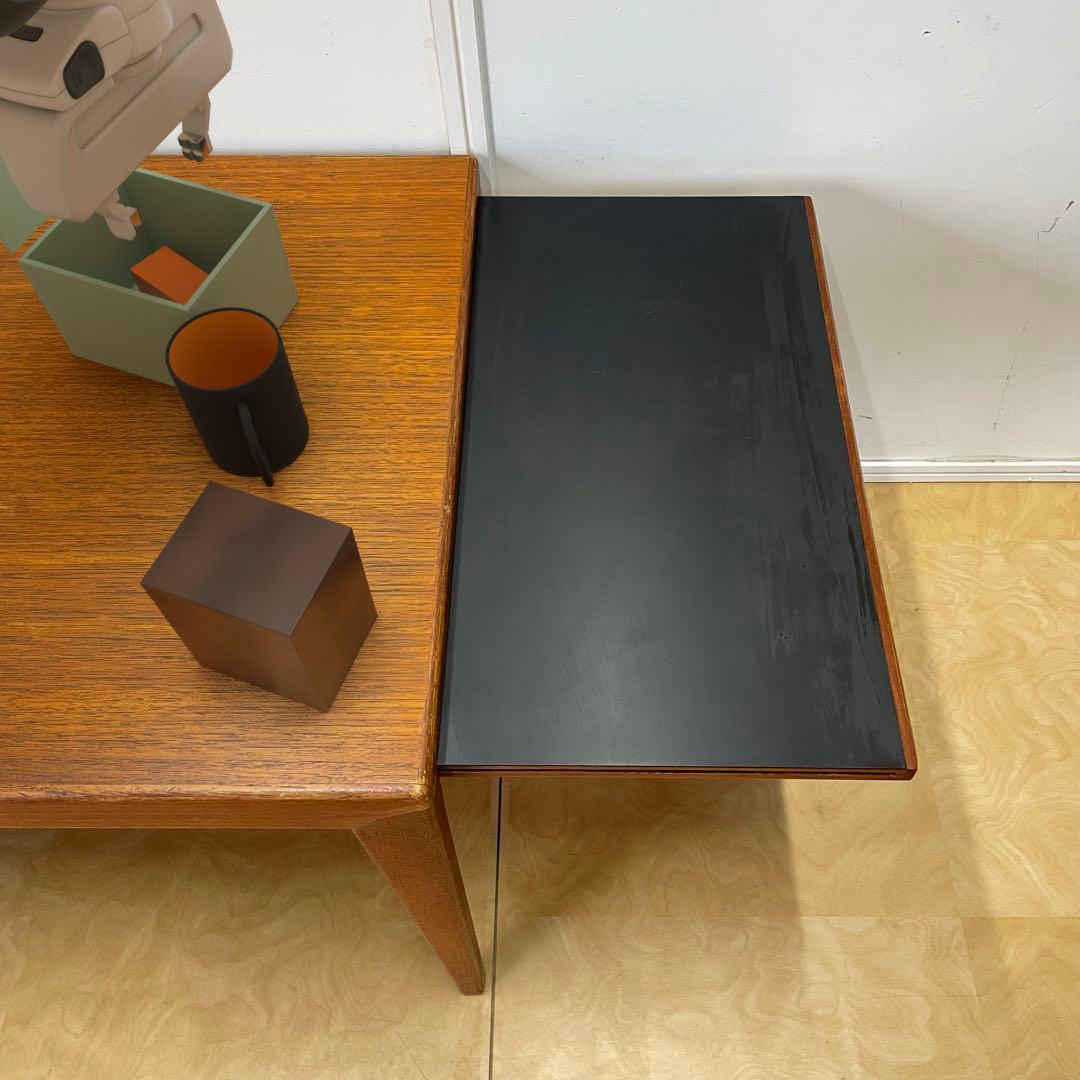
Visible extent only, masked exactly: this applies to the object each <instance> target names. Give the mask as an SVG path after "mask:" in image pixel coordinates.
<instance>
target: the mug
mask: <svg viewBox="0 0 1080 1080" xmlns="http://www.w3.org/2000/svg"><path fill="white" fill-rule="evenodd" d="M165 360H166V365H167V368H168V370H169V372H170V375H171V377H172V379H173V381H174V383H175V385H176V387H177V388H176V387H175V388H176V390H177V392H178V393H179V394H178V395H180V398H181V399H182V402H183V404H184V406H185V409H186V410H187V412H188V414H189V416H190V418H191V421H192V423H193V425H194V427H195V430H196V431H197V433H198V435H199V437H200V439H201V441H202V444H203V445H204V448H205V450H206V451H207V455H208V456H209V458H210V459H211V460H212V462H213V463H214V464H215V465H216V466H217V467H218V468H220V469H222V470H223V471H225V473H226V472H227V473H229V474H232V475H234V476H239V477H249V478H254V477H261V479H262V482H263V484H264V486H266V488H272V487H274V485H275V477H274V475H273V473H277V472H279V471H281V470H283V469H285V468H286V467H288V466H289V465H290V464H292V463H293V462H294V461H295V460H296V459H297V458H298V457H299V456H300V455H301V453H302V452H303V451H304V449H305V447H306V446H307V443H308V441H309V440H308V439H309V436H310V427H309V421H308V418H307V416H306V412H305V409H304V405H303V403H302V399H301V396H300V392H299V389H298V386H297V383H296V380H295V376H294V374H293V370H292V367H291V364H290V360H289V357H288V355H287V352H286V347H285V344H284V342H283V338H282V336H281V333H280V331H279V329H277V327H276V326H275V324H274V323H273V322H272V321H271V320H270V319H269V318H267V317H266V316H264V315H263V314H261V313H259V312H256V311H253V310H250V309H245V308H237V307H227V308H219V309H213V310H210V311H207V312H203V313H201V314H199V315H197V316H195V317H193V318H191V319H190V320H188V321H186V322H185V323H184V324H183V325H181V326H180V327H179V328H178V329H177V330H176V331H175V333H174V334H173V335H172V337H171V338H170V340H169V342H168V345H167V348H166V353H165Z"/></svg>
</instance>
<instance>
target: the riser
mask: <svg viewBox="0 0 1080 1080" xmlns="http://www.w3.org/2000/svg"><path fill="white" fill-rule="evenodd" d="M139 584H140V585H141V587H142V588H143V590H144V591H145V592H146V594H147V595H148V597H149V598H150V599H151V601H152V602H153V603H154V604H155V606H156V607H157V609H158V610H159V612H160V613H161V615H162V616H163V617H164V618H165V619H166V621H167V622H168V623H169V625H170V626H171V628H172V629H173V631H174V632H175V633H176V634H177V636H178V638H180V641H182V643H183V644H184V646H185V648H187V650H188V651H189V653H190V654H191V655H192V657H193V658H194V659H195V660H196V662H197V663H198V665H199V666H201V667H203V668H206V669H209V670H212V671H214V672H217V673H220V674H223V675H225V676H227V677H229V678H233V679H236V680H238V681H241V682H243V683H246V684H249V685H252V686H255V687H257V688H260V689H262V690H265V691H268V692H271V693H273V694H276V695H279V696H281V697H284V698H287V699H289V700H292V701H295V702H298V703H300V704H302V705H306V706H309V707H311V708H313V709H317V710H319V711H322V712H324V713H329V710H330V708H331V706H332V704H333V703H334V701H335V699H336V697H337V695H338V693H339V691H340V689H341V687H342V685H343V683H344V681H345V679H346V678H347V676H348V674H349V671H350V670H351V667H352V666H353V664H354V662H355V661H356V658H357V656H358V654H359V653H360V650H361V648H362V646H363V644H365V641H366V639H367V637H368V635H369V633H370V631H371V629H372V627H373V626H374V623H375V622H376V619H377V618H378V612H377V608H376V605H375V601H374V599H373V595H372V592H371V587H370V584H369V581H368V577H367V575H366V571H365V568H364V565H363V561H362V558H361V554H360V550H359V547H358V543H357V541H356V537H355V534H354V531H353V528H352V527H351V526H349V525H346V524H343V523H340V522H337V521H333V520H331V519H329V518H325V517H322V516H319V515H316V514H313V513H309V512H307V511H304V510H301V509H298V508H294V507H291V506H289V505H286V504H283V503H280V502H277V501H273V500H271V499H267V498H264V497H262V496H258V495H255V494H252V493H249V492H246V491H244V490H242V489H241V490H240V489H237V488H235V487H232V486H228V485H226V484H222V483H219V482H217V481H213V480H209V481H208V483H207V484H206V485H205V487H204V488H203V490H202V491H201V493H200V494H199V496H198V497H197V499H196V500H195V501H194V503H193V505H192V506H191V507H190V509H189V510H188V511H187V513H186V515H185V516H184V517H183V519H182V521H181V522H180V524H179V525H178V526H177V528H176V529H175V531H174V532H173V534H172V535H171V537H170V538H169V540H168V541H167V543H165V545H164V547H163V548H162V550H161V551H160V553H159V554H158V555H157V557H156V558H155V560H154V562H153V563H152V564H151V566H149V568H148V570H147V572H146V573H145V574H144V576H143V577H142V579H141V580H140V583H139Z"/></svg>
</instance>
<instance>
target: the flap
mask: <svg viewBox="0 0 1080 1080" xmlns="http://www.w3.org/2000/svg"><path fill="white" fill-rule="evenodd" d="M50 217H51V216H49V215H46V214H43V213H41V212H39V211H37V210H35V209H33V208H32V207H31V206H29V205H28V204H27V202H26V201H25V200H24V198H23V197H22V195H21V193H20V192H19V190H18V188H17V186H16V184H15V182H14V181H13V179H12V177H11V175H10V173H9V171H8V169H7V167H6V165H5V163H4V160H3V158H2V156H1V154H0V242H1V243H2V244H3V245H4V246H5V248H6V249H7V250H8V251H9V252H10V253H11V254H15V253H16V252H17V251H18V249H20V248H21V247H22V246H23V245H24V244H25V243H26V241H27V240H28V239H29V238H30V237H32V236H33V235H34V234H35V232H36V231H37V230H38V229H39V228H40V227H41V226H42V225H43V224H44V223H45V222H46V221H48V220H49V218H50Z"/></svg>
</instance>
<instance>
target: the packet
mask: <svg viewBox="0 0 1080 1080" xmlns="http://www.w3.org/2000/svg"><path fill="white" fill-rule="evenodd" d="M130 272H131V274H132V276H133V278H134V280H135V282H136V285H137V287H138V289H139V291H140V292H141V293H145V294H148V295H152V296H155V297H158V298H162V299H165V300H168V301H172V302H175V303H178V304H182V305H185V304H186V303H187V302H188V301H189V299H190V298H191V297H192V296H193V294H194V293H195V292H196V291H197V289H198V288H199V287H200V286H201V284H202V283H203V282H204V281H205V280H206V278H207V277H208V276H209V274H207V273H206V272H204V271H203V270H201V269H200V268H198V267H197V266H195V265H194V264H192V263H191V262H189V261H188V260H186V259H185V258H183V257H182V256H180V255H179V254H177V253H176V252H174V251H173V250H171V249H170V248H168V247H167V246H164V247H162V248H161V249H159V250H158V251H156V252H155V253H153V254H152V255H150V256H149V257H147V258H146V259H144V260H143V261H141V262H140V263H138V264H137V265H135V266H134V267H132V268H131V269H130Z"/></svg>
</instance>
